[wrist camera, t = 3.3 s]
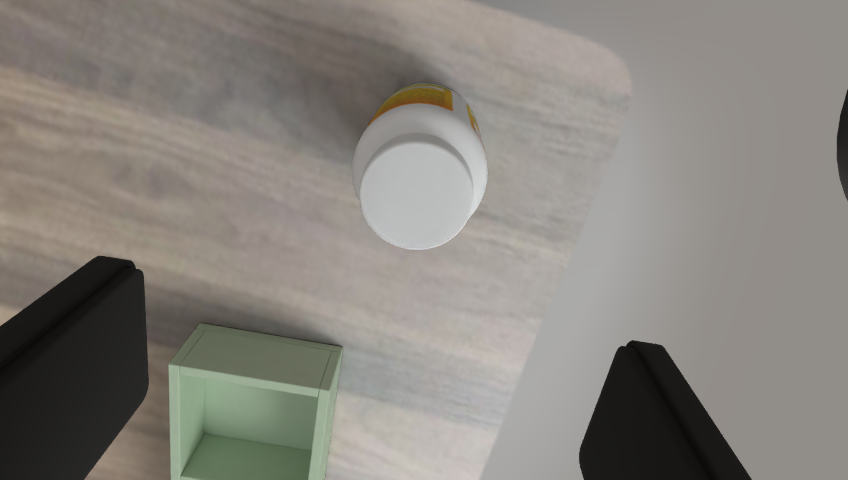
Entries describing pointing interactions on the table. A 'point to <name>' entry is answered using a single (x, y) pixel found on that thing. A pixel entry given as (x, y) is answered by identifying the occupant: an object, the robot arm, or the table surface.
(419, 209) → the supplement bottle
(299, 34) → the table surface
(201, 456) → the tray
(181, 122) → the table surface
